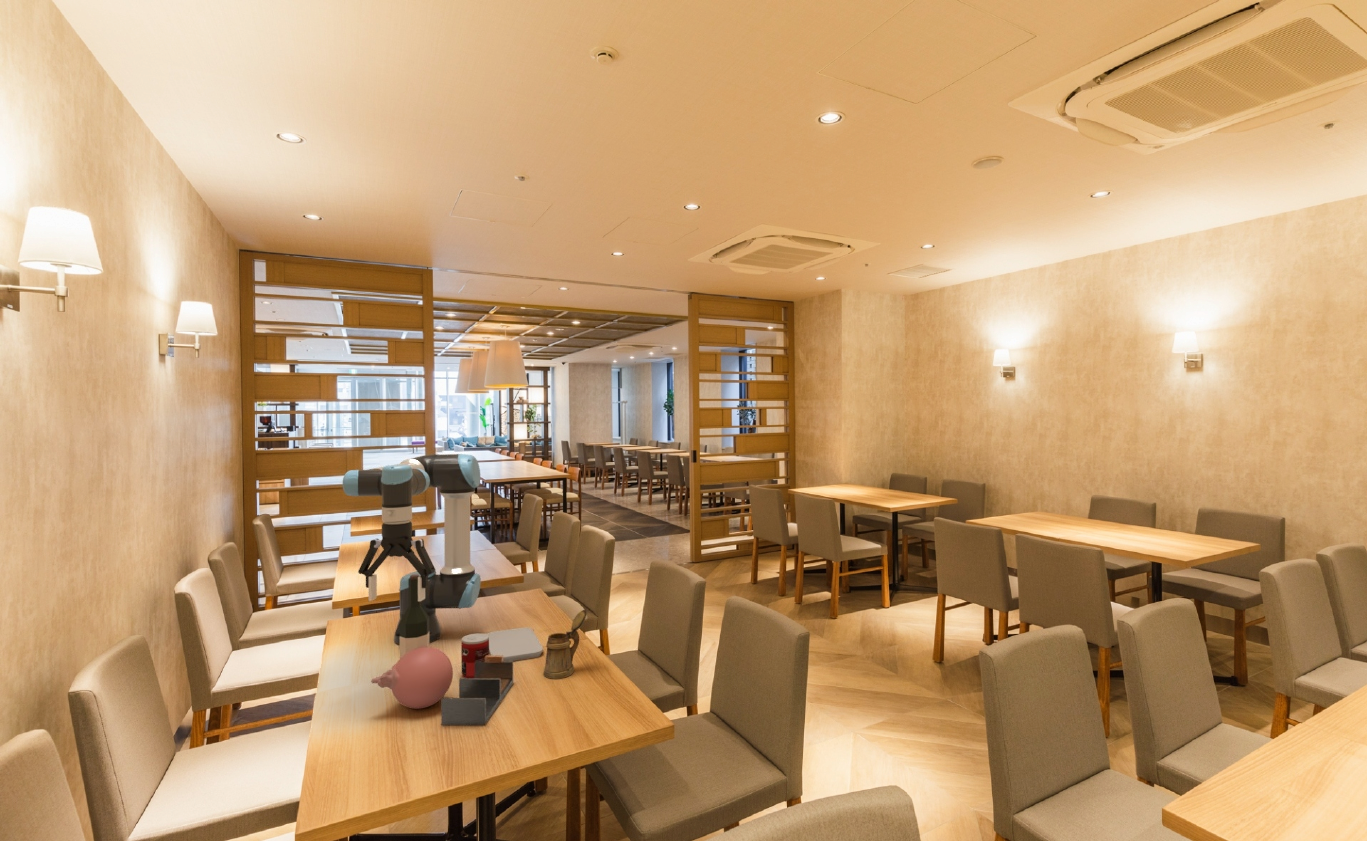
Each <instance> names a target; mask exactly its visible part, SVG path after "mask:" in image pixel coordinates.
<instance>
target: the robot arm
mask: <svg viewBox="0 0 1367 841" xmlns="http://www.w3.org/2000/svg"><path fill="white" fill-rule="evenodd" d="M480 484H481V469H480V465H479V462H478V459H477V458H476V456H474V455H472V454H465V453H464V454H462V453H456V454H454V453H451V454H450V453H449V454H445V453H444V454H426V455H420V456H416V457H411V458H407V459H405V460H401V462H400V463H397V464H391V465H389V464H387V465H385V466H379V467H375V468H371V469H370V468H369V469H352V470H348V471H347V472H346V473H345V474H344V476H343V478H342V489H343V492H344V494H345V495H346V496H348V497H381V521H382V522H383V523H382V524H381V536H382V537H381V538H382V539H381V540H380V539H379V538H375V539H372V540H370V542H369V547H368V550H367V553H366V555H365V557H364V558H363V561H362V562H361V565H360V567H359V569H358V571H357V573H358V574H360V575H364V577H365V588H366V589H367V588H368V601H369V602H372V601H374V600H375V599H377V598H378V596H377V595H378V591H377V590H378V589H377V586H378V584H377V583H378V579H377V574H376V573H375V572H376V571H377V570H378V569H379V567H381V565H382V564H383V563H384V562H385V560H386V559H387V558H388V557H393V558H394V557H398V558H401V557H403V558H404V559H406V560H407V561H408V562H409V563H410V565H411V566H412V567H413V568H414V569H415V570H416V571H413V572H410V573H407V574H405V575H403V576H402V577H401V578H400V580H399V589H398V591H399V620H398V622H397V626H396V628H395V631H394V636H393V638H394V639H393V640H394V643H395V644H396V645H398V646H400V621H401V619H402V617H403V615H404V614H405V612H406V610H407V609H408V607H409V598H408V579H409V578H410V576H411V575H415V574H418V575H419V577H418V601H421V606H422V607H423V609H424V610H425V612H426V613H427V615H428V616H429V643H432V642H434V641H436V640H439V639H440V638H441V636H442V629H441V628H442V627H441V625H440V623H439V620H438V617H437V613H436V612H437V610H436V609H440V610H441V609H443V610H444V609H458V610H459V609H460V610H461V609H470V608H472V607H473V606H474V605H475V604H476V602H477V599H478V598H479V594H480V590H481V584H482V580H481V575H480V573H476V568H475V567H474V565H472V564H471V496H472V495H474V493H475V492H476V491H475V489H476V488H478V487H479V486H480ZM428 488H439V494H440V495H441V496H442V498H444V512H443V513H444V524H443V525H444V528H443V529H444V566H442V568H440V570H439V574H437V572H436V567H435V566H434V564H433V562H432V560H431V558H430V555H429V554H428V552H427V549H426V548H425V541H424V540H425V539H423V538H419V539H416V540H413V538H412V535H413V523H412V521H411V520H413V497H414V496H419V495H421V494H422V493H424V492H425V491H427V489H428ZM380 547H381V548H382V549H383V550H382V551H381V553H380V554H379V555H378V557H377V558H376V559H375V560H374V557H375V556H376V553H377V552H378V550H379V548H380ZM412 547H413V548H414V549H416V552H417V553H416V554H417V555H418V556H417V555H416V554H415V551H414V549H413V548H412ZM418 557H419V558H418ZM373 560H374V562H373ZM372 562H373V563H372Z"/></svg>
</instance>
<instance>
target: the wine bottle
mask: <svg viewBox="0 0 1367 841" xmlns="http://www.w3.org/2000/svg"><path fill="white" fill-rule="evenodd" d="M418 577H419V575H418V574H415V575H411V576H410V578H409V579H408V598H409V607H408V609H407V610H406V612H405V614H404V615H403V617H402V619H401V621H400V645H399V659H400V658H401V657H402V656H403V655H405V654H406V653H407V652H409V651H411V650H413V649H415V648H419V647H430V642H429V616H428V615H427V613H426V612H425V610H424V609H423V607H422V606H421V601H418Z"/></svg>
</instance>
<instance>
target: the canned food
mask: <svg viewBox="0 0 1367 841" xmlns="http://www.w3.org/2000/svg"><path fill="white" fill-rule="evenodd" d="M486 634H487V633H470V634H468V635H464V636H463V637H462V638H461V648H460V649H461V650H460V651H461V674H462V678H475V661H485V656H486V655H490V651H489V636H488V635H486Z"/></svg>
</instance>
